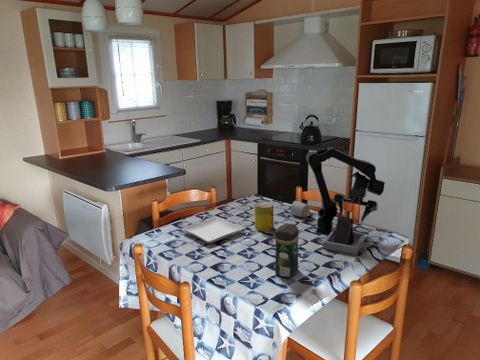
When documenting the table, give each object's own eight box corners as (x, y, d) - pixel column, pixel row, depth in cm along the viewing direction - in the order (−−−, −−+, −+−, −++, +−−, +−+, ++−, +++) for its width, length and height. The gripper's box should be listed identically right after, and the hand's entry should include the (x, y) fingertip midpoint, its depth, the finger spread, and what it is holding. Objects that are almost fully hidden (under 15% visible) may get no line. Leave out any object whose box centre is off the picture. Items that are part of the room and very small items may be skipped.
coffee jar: (281, 264, 148) (281, 220, 143) (300, 268, 144) (301, 223, 139) (271, 275, 139) (271, 229, 134) (292, 280, 136) (292, 233, 131)
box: (323, 249, 160) (323, 241, 159) (333, 235, 173) (333, 228, 172) (356, 255, 153) (357, 247, 152) (364, 241, 167) (364, 233, 166)
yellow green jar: (270, 232, 179) (270, 208, 176) (252, 230, 182) (252, 206, 179) (275, 225, 187) (275, 202, 184) (258, 223, 190) (257, 201, 187)
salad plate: (208, 248, 164) (208, 240, 164) (182, 234, 180) (181, 227, 179) (244, 234, 178) (244, 227, 177) (216, 222, 193) (216, 216, 192)
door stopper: (346, 249, 157) (347, 222, 154) (333, 245, 161) (334, 219, 157) (354, 241, 164) (356, 216, 161) (341, 238, 167) (342, 213, 164)
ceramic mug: (302, 219, 193) (303, 205, 191) (289, 216, 199) (290, 202, 197) (314, 214, 201) (314, 201, 199) (301, 211, 206) (301, 198, 204)
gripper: (336, 177, 168) (327, 209, 164) (379, 185, 159) (370, 219, 155) (340, 186, 178) (331, 217, 174) (381, 194, 169) (373, 226, 165)
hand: (350, 219), depth 167 cm, fingers open, 9 cm apart
